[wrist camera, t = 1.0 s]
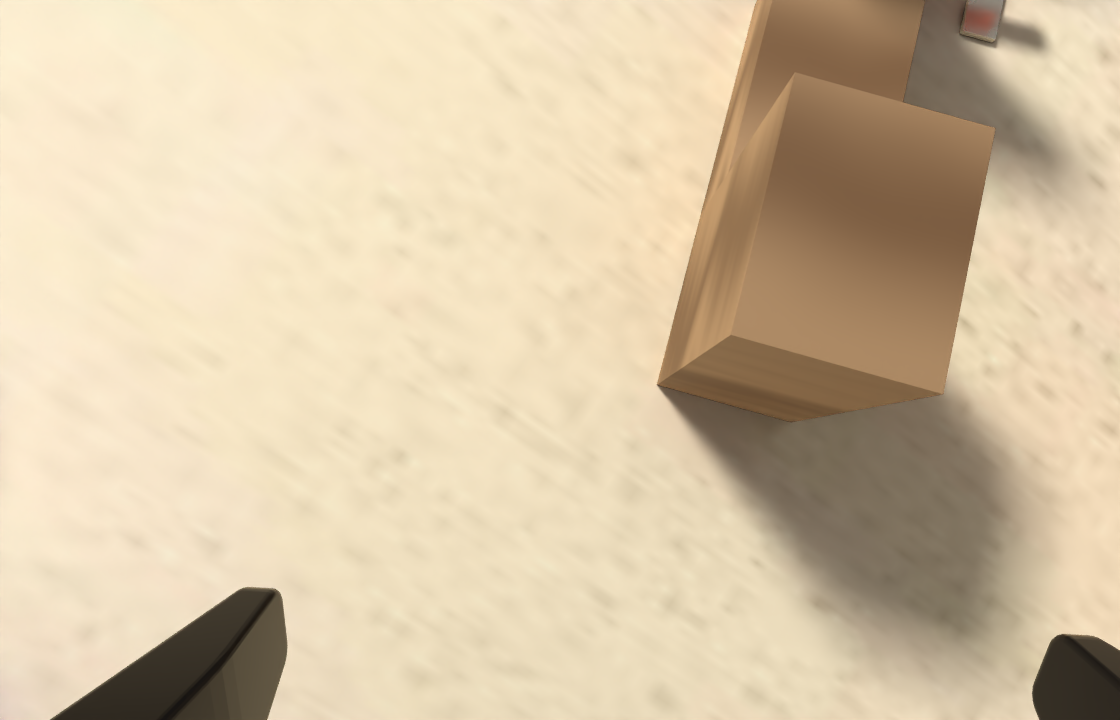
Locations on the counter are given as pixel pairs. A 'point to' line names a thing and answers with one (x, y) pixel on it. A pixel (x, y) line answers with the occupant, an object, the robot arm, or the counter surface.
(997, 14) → the gauge housing
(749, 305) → the walnut block
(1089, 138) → the counter surface
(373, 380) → the counter surface
